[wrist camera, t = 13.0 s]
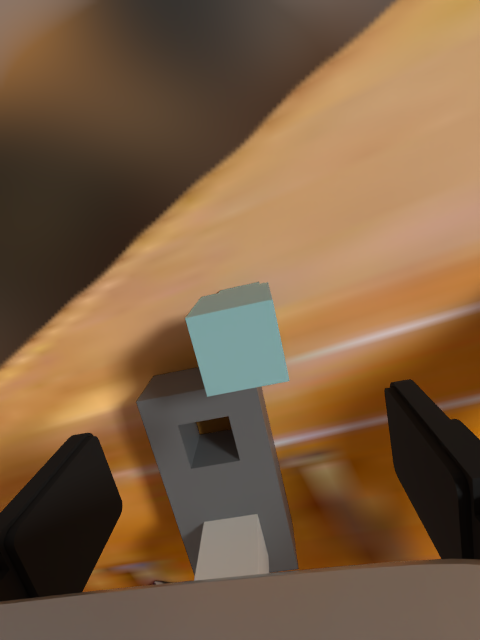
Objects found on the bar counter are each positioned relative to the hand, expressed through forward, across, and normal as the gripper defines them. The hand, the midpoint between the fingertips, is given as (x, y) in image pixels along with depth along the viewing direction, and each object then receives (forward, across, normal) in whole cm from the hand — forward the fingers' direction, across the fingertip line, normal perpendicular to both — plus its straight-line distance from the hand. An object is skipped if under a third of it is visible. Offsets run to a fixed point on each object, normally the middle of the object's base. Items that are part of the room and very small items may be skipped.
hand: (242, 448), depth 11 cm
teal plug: (+20, +1, 0) cm, 21 cm away
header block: (+20, +6, +15) cm, 26 cm away
